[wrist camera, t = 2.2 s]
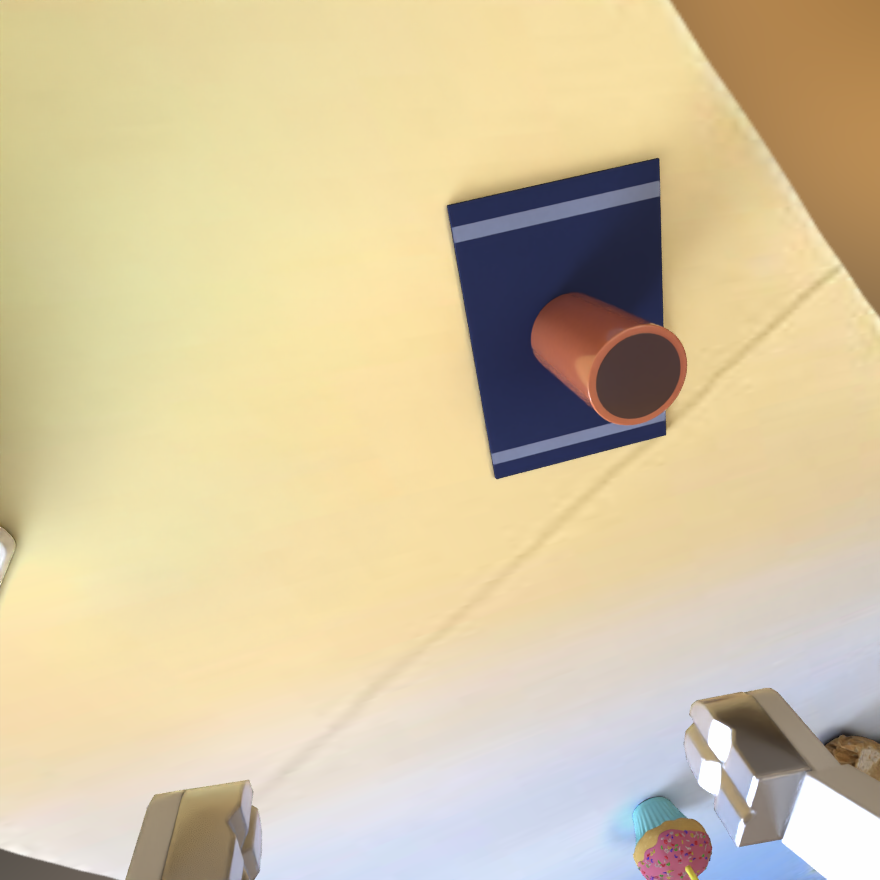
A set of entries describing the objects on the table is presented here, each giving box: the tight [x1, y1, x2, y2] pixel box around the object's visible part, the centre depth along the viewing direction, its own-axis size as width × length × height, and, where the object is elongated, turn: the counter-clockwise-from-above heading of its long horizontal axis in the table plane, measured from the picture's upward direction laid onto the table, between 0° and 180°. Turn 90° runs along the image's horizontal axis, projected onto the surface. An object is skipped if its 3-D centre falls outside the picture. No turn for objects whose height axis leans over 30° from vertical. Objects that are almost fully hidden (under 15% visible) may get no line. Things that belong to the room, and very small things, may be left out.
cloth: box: [447, 158, 666, 479], centre depth 40 cm, size 20×14×1 cm
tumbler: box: [531, 292, 687, 425], centre depth 36 cm, size 6×6×10 cm
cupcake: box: [633, 797, 712, 880], centre depth 61 cm, size 9×8×12 cm
